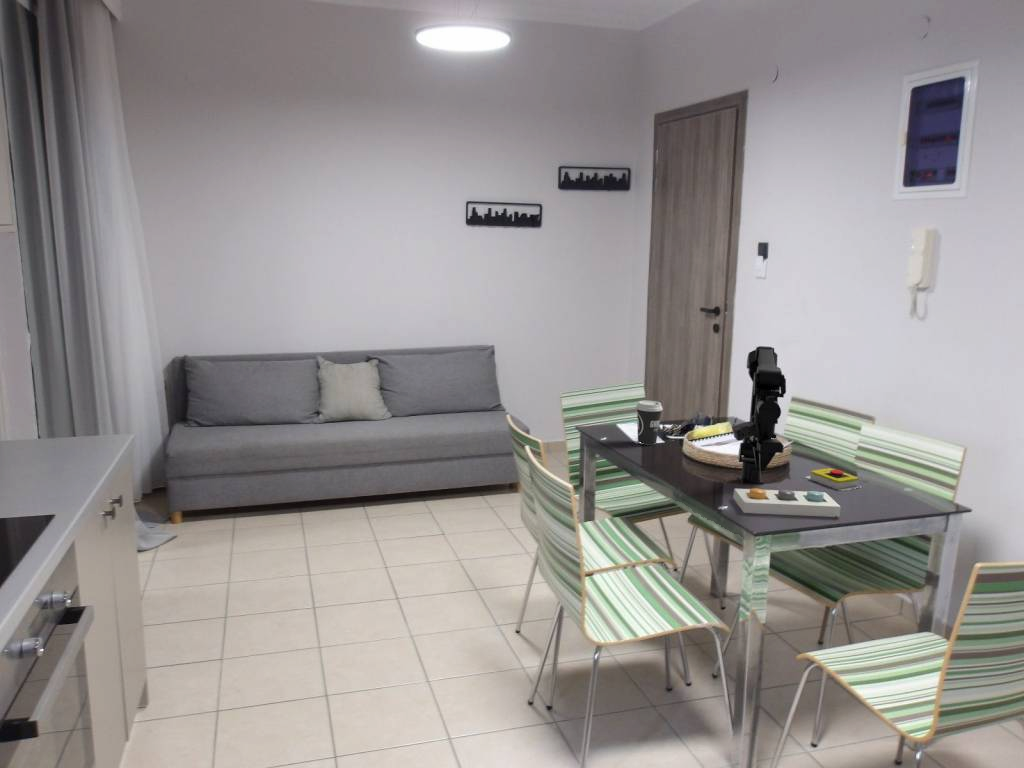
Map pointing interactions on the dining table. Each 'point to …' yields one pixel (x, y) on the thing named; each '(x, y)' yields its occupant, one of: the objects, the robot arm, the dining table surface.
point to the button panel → (786, 504)
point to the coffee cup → (648, 421)
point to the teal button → (815, 496)
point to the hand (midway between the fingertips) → (760, 468)
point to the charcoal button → (786, 495)
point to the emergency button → (834, 479)
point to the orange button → (757, 494)
